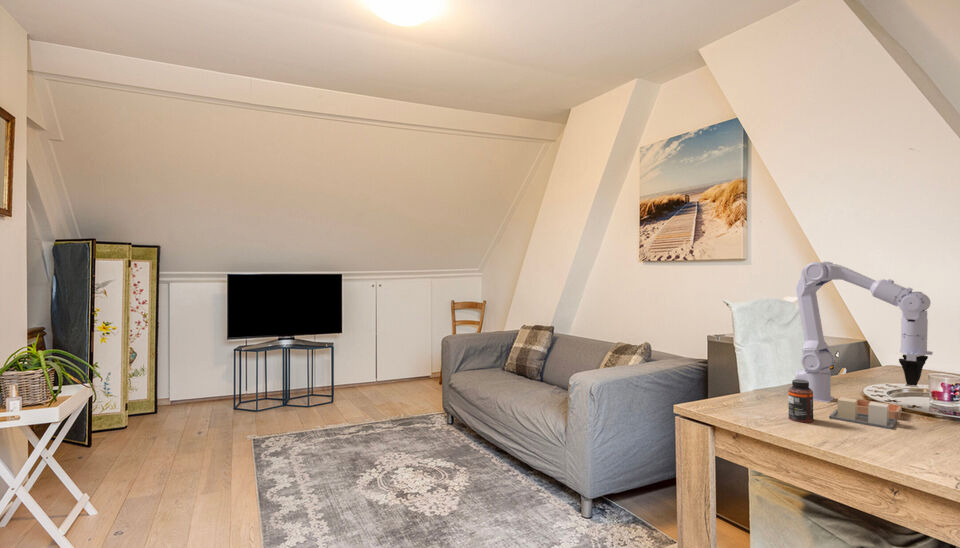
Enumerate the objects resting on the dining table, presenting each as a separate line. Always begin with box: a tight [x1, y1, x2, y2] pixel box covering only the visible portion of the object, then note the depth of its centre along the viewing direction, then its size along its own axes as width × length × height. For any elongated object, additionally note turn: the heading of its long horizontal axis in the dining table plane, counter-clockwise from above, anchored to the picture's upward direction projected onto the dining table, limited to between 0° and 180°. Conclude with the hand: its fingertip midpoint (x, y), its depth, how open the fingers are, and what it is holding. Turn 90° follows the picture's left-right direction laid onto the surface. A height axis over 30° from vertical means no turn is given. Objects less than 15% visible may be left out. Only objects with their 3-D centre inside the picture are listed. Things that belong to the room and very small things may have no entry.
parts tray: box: [828, 408, 898, 430], centre depth 144 cm, size 14×9×1 cm, turn 46°
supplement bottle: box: [787, 379, 814, 424], centre depth 145 cm, size 6×6×11 cm
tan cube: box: [837, 396, 858, 420], centre depth 147 cm, size 4×4×5 cm
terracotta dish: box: [856, 398, 903, 421], centre depth 151 cm, size 11×9×2 cm
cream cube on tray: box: [868, 401, 890, 426], centre depth 142 cm, size 4×4×5 cm
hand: (913, 382), depth 147 cm, fingers open, 7 cm apart
